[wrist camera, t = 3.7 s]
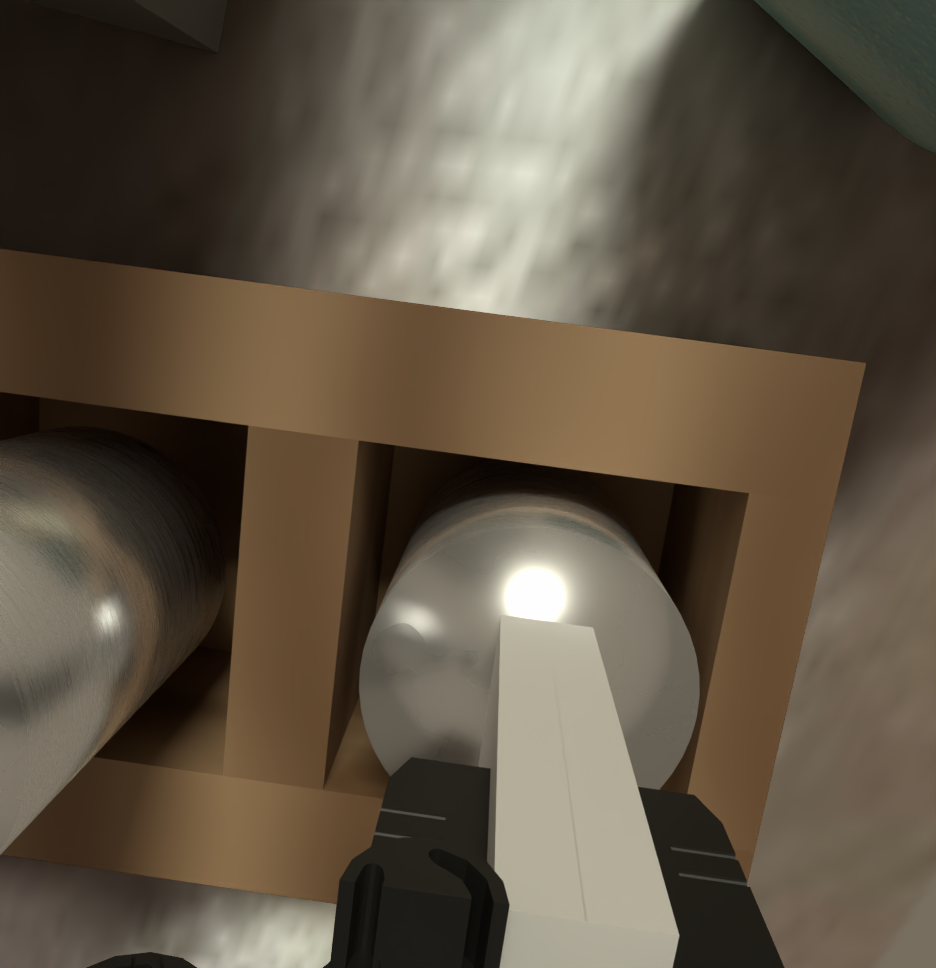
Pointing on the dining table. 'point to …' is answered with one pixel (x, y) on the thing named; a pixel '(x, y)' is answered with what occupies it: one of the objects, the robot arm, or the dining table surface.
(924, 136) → the flower pot
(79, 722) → the plug mid
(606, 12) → the dining table surface
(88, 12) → the alarm clock
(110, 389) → the divided box
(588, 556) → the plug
